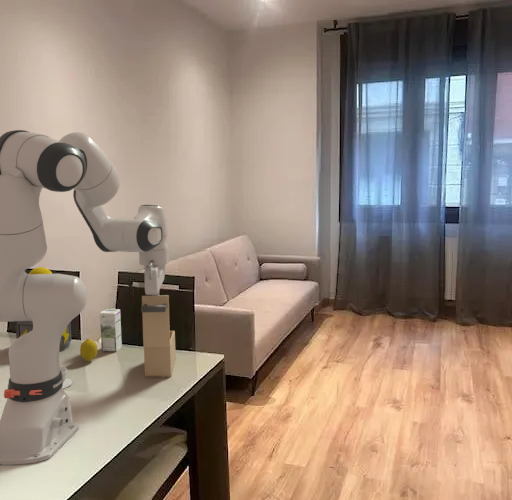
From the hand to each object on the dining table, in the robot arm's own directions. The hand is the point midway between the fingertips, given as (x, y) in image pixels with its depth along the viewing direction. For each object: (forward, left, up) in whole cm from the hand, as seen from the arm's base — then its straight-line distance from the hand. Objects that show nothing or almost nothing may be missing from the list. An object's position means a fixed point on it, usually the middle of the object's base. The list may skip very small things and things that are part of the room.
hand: (156, 301), depth 158 cm
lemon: (+14, +25, -24) cm, 37 cm away
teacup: (-6, +30, -24) cm, 39 cm away
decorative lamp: (+30, +45, -24) cm, 59 cm away
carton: (+6, 0, -24) cm, 24 cm away
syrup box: (+26, +20, -24) cm, 41 cm away
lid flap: (-2, 0, -6) cm, 6 cm away
